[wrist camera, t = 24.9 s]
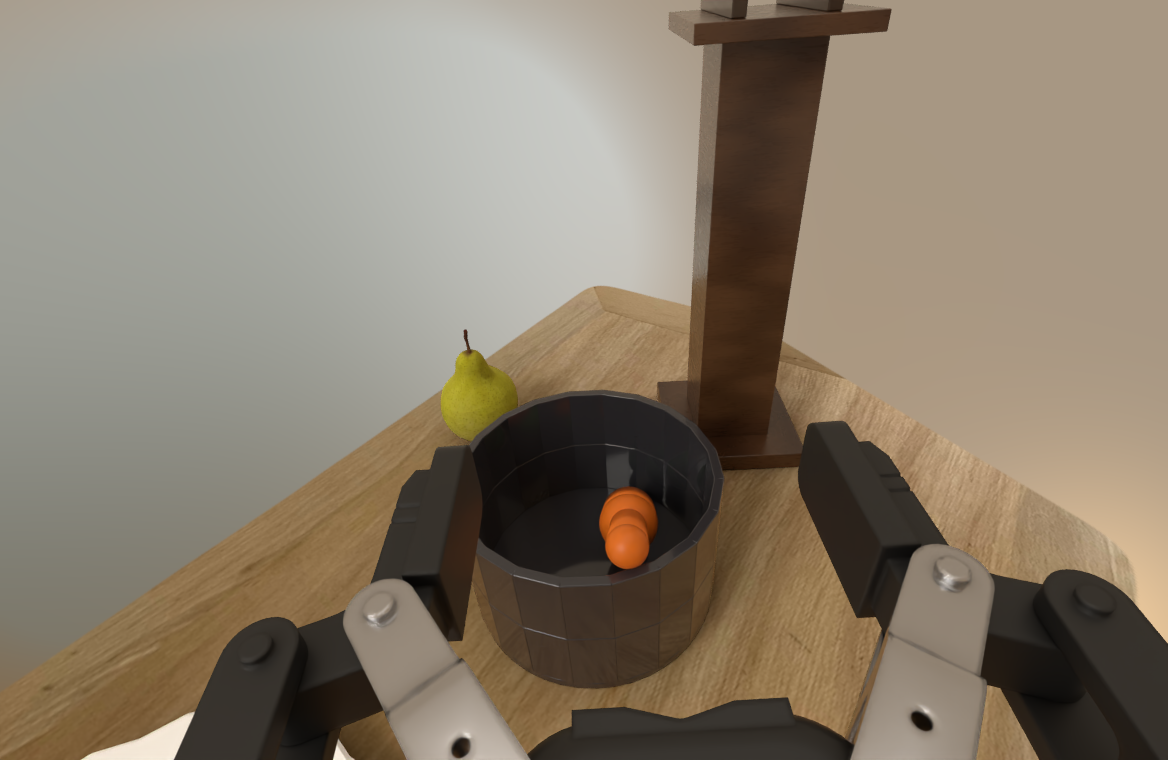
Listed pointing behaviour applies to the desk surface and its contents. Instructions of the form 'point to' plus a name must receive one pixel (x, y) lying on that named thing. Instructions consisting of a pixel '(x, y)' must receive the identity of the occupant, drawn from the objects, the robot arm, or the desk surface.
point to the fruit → (476, 395)
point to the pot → (593, 535)
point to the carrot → (628, 526)
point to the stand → (752, 211)
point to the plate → (166, 745)
